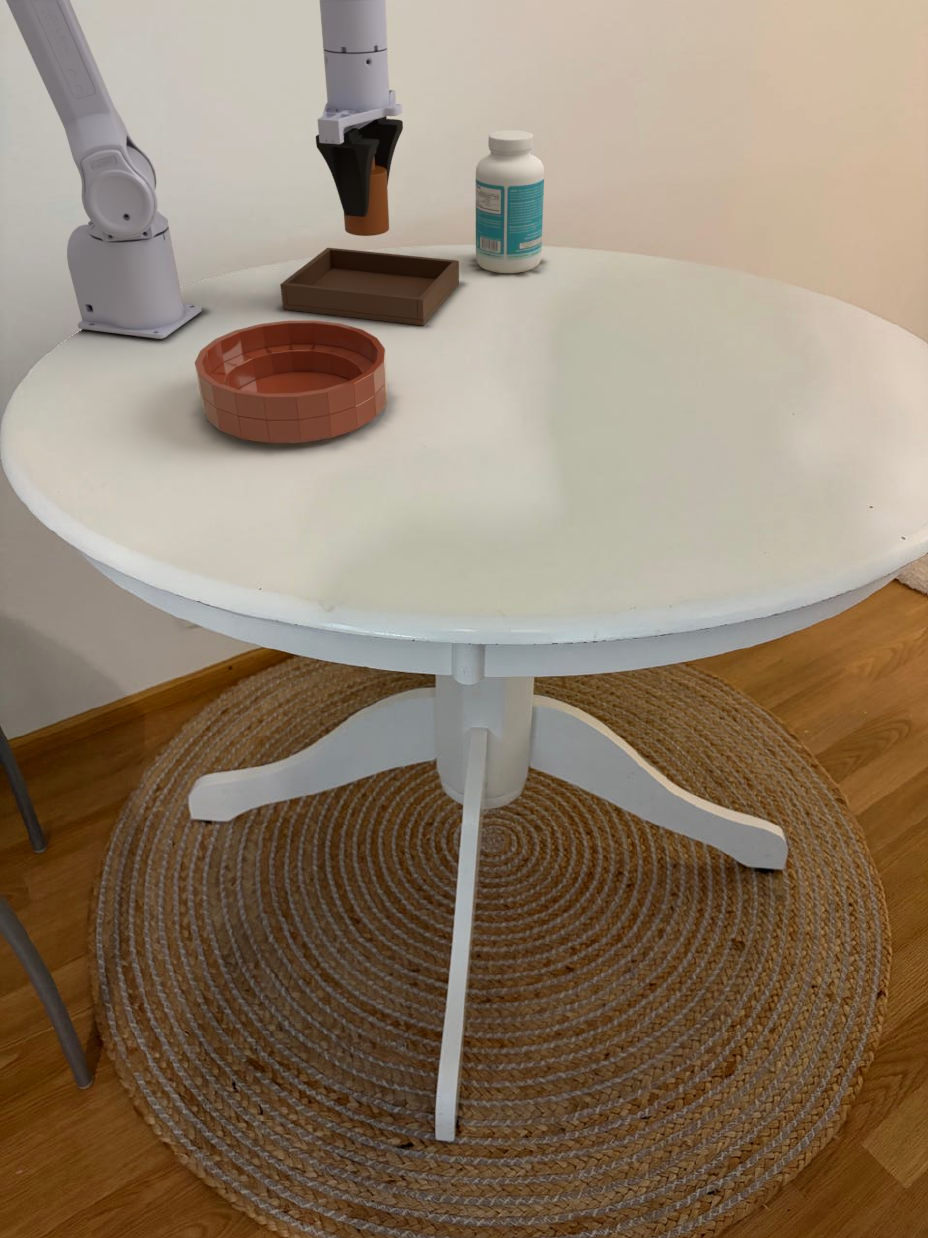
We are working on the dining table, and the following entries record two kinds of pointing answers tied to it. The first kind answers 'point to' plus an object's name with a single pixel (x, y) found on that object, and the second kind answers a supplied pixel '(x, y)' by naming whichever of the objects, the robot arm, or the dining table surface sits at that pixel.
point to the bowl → (292, 381)
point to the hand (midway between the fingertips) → (365, 208)
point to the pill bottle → (509, 204)
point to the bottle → (372, 207)
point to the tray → (371, 286)
